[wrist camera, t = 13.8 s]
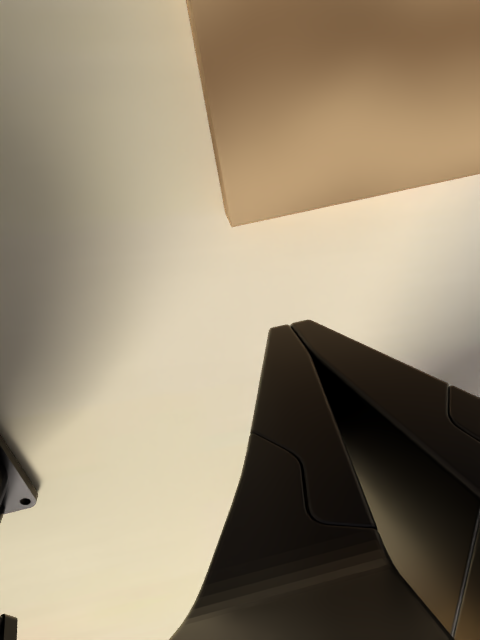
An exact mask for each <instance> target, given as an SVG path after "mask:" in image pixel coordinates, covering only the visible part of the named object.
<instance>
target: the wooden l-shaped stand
mask: <svg viewBox="0 0 480 640" xmlns="http://www.w3.org/2000/svg"><path fill="white" fill-rule="evenodd" d="M186 2H187V8H188V13H189V18H190V24H191V29H192V35H193V40H194V46H195V51H196V56H197V62H198V67H199V73H200V78H201V83H202V89H203V94H204V100H205V105H206V110H207V116H208V121H209V127H210V132H211V138H212V143H213V148H214V154H215V159H216V165H217V170H218V175H219V181H220V186H221V192H222V197H223V203H224V208H225V213H226V216H227V218H228V220H229V222H230V224H231V227H235V226H240V225H244V224H249V223H254V222H258V221H263V220H268V219H272V218H277V217H281V216H286V215H291V214H295V213H300V212H305V211H309V210H314V209H319V208H323V207H328V206H333V205H337V204H342V203H346V202H351V201H356V200H360V199H365V198H370V197H374V196H379V195H384V194H388V193H393V192H398V191H402V190H407V189H411V188H416V187H421V186H425V185H430V184H435V183H439V182H444V181H449V180H453V179H458V178H463V177H467V176H472V175H476V174H480V0H186Z"/></svg>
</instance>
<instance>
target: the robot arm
mask: <svg viewBox="0 0 480 640" xmlns="http://www.w3.org/2000/svg"><path fill="white" fill-rule="evenodd" d="M250 434H251V435H250V436H249V442H248V447H247V452H246V456H245V461H244V465H243V470H242V474H241V477H240V480H239V484H238V487H237V490H236V493H235V496H234V499H233V502H232V505H231V508H230V511H229V514H228V516H227V519H226V522H225V525H224V527H223V530H222V533H221V536H220V538H219V541H218V544H217V547H216V550H215V552H214V555H213V558H212V561H211V563H210V566H209V569H208V572H207V574H206V577H205V580H204V582H203V585H202V587H201V590H200V592H199V594H198V596H197V599H196V601H195V603H194V605H193V607H192V608H191V610H190V612H189V614H188V615H187V617H186V619H185V620H184V622H183V623H182V624H181V626H180V627H179V628H178V630H177V631H176V632H175V633H174V634H173V636H172V637H171V638H170V639H169V640H480V398H479V397H477V396H475V395H472V394H470V393H468V392H466V391H464V390H461V389H459V388H457V387H455V386H450V387H449V384H448V383H446V382H444V381H442V380H439V379H437V378H435V377H433V376H431V375H429V374H426V373H424V372H422V371H420V370H418V369H416V368H413V367H411V366H409V365H407V364H405V363H403V362H400V361H398V360H396V359H394V358H392V357H390V356H388V355H385V354H383V353H381V352H379V351H377V350H375V349H372V348H370V347H368V346H366V345H364V344H362V343H359V342H357V341H355V340H353V339H351V338H349V337H346V336H344V335H342V334H340V333H338V332H336V331H333V330H331V329H329V328H327V327H325V326H323V325H320V324H318V323H316V322H314V321H312V320H304V321H300V322H295V323H292V324H291V325H290V326H289V325H282V326H277V327H273V328H270V330H269V333H268V339H267V344H266V350H265V355H264V361H263V366H262V372H261V377H260V383H259V388H258V394H257V399H256V405H255V410H254V416H253V421H252V427H251V432H250ZM37 497H38V493H37V491H36V489H35V488H34V486H33V485H32V483H31V482H30V480H29V478H28V477H27V475H26V474H25V472H24V471H23V469H22V468H21V466H20V465H19V463H18V461H17V460H16V458H15V457H14V455H13V454H12V452H11V451H10V449H9V447H8V446H7V444H6V443H5V441H4V440H3V438H2V437H1V435H0V523H1V520H2V517H3V514H7V513H11V512H15V511H19V510H23V509H27V508H30V507H33V506H34V505H35V504H36V501H37ZM0 640H17V618H16V617H13V616H10V615H6V614H2V615H1V616H0Z"/></svg>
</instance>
